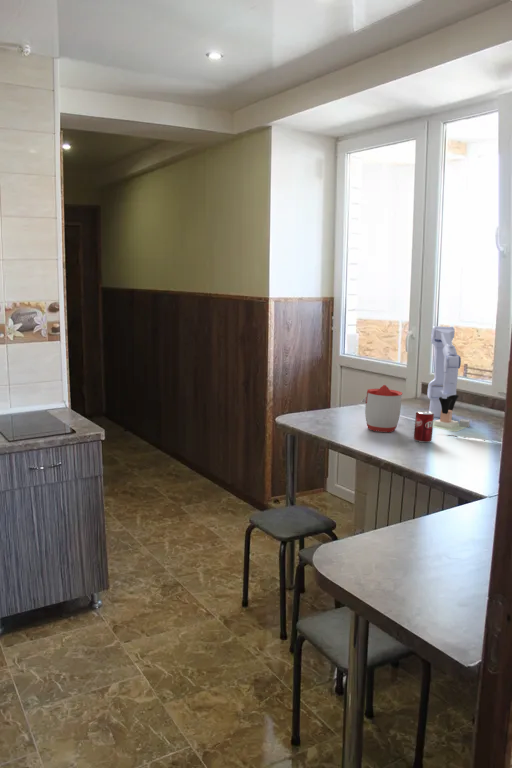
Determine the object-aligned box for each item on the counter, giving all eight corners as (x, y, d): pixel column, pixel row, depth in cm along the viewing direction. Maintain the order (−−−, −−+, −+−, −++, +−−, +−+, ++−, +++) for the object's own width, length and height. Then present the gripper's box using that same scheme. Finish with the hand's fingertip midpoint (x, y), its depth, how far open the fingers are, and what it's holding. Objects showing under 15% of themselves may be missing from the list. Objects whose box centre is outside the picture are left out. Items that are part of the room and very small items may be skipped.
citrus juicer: (360, 423, 294) (363, 380, 290) (399, 427, 291) (402, 383, 287) (358, 431, 279) (361, 386, 275) (399, 435, 276) (403, 389, 272)
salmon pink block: (442, 419, 296) (443, 408, 295) (451, 421, 294) (452, 410, 293) (439, 421, 292) (441, 410, 292) (448, 422, 290) (449, 411, 289)
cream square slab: (441, 422, 299) (442, 418, 298) (458, 425, 294) (458, 421, 293) (434, 425, 293) (434, 420, 292) (450, 428, 288) (451, 424, 287)
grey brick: (460, 424, 297) (460, 419, 296) (469, 425, 295) (470, 420, 294) (459, 426, 293) (459, 420, 292) (468, 427, 291) (468, 421, 291)
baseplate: (436, 421, 304) (437, 419, 304) (470, 428, 294) (470, 425, 294) (421, 427, 292) (421, 425, 292) (455, 434, 282) (455, 431, 282)
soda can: (432, 439, 271) (434, 411, 269) (430, 443, 264) (433, 415, 262) (414, 437, 273) (416, 409, 271) (412, 441, 266) (415, 413, 264)
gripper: (446, 379, 298) (443, 408, 300) (436, 383, 286) (433, 413, 288) (461, 381, 294) (458, 410, 296) (452, 385, 282) (449, 415, 284)
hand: (447, 412), depth 292 cm, fingers open, 7 cm apart
